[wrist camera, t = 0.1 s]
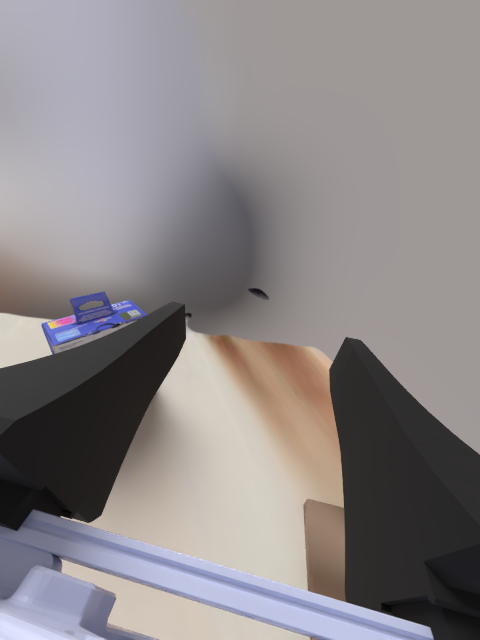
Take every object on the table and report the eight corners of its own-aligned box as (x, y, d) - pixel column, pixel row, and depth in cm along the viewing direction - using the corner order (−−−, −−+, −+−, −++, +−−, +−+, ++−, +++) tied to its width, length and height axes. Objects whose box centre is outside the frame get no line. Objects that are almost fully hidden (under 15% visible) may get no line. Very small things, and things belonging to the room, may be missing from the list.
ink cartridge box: (140, 364, 37) (128, 281, 30) (158, 385, 34) (149, 298, 27) (69, 397, 31) (29, 302, 23) (83, 425, 28) (43, 327, 20)
